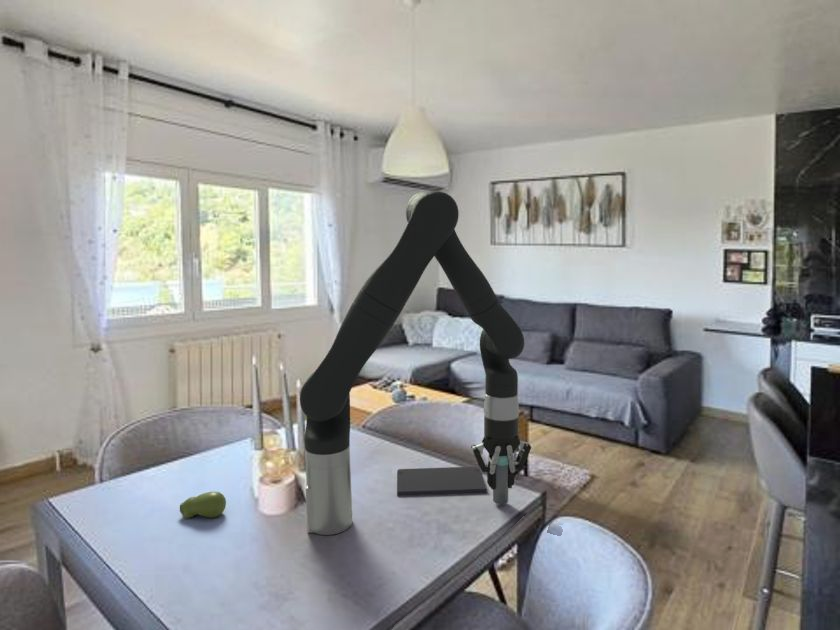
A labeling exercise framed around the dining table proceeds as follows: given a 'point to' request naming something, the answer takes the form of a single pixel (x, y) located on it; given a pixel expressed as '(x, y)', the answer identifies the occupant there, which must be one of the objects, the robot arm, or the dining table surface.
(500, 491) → the marker
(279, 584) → the dining table surface
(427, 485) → the notebook
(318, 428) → the robot arm
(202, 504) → the pear
